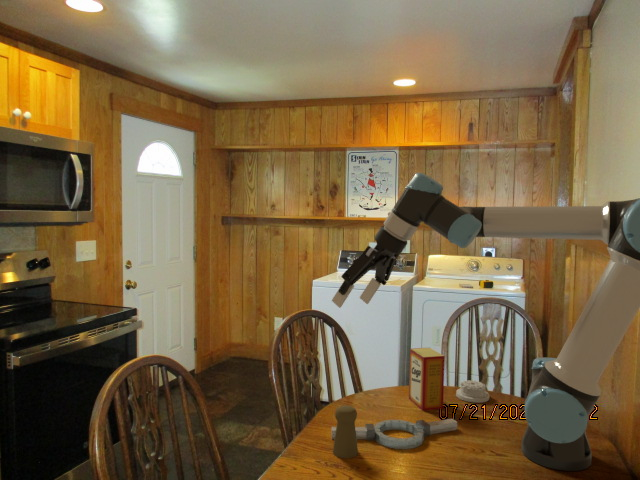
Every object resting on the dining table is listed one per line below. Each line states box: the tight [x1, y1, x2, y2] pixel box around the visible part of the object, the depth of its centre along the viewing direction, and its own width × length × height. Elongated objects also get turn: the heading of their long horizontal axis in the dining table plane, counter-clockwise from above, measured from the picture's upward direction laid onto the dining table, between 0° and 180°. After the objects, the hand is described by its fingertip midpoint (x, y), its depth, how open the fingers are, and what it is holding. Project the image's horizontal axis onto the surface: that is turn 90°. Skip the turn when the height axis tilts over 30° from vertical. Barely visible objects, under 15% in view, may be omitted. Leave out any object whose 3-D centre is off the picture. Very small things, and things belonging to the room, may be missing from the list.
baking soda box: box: [408, 347, 446, 412], centre depth 153 cm, size 10×6×16 cm
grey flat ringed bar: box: [331, 418, 458, 450], centre depth 131 cm, size 33×13×3 cm, turn 91°
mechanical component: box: [455, 379, 490, 404], centre depth 160 cm, size 10×4×10 cm
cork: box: [332, 404, 359, 459], centre depth 122 cm, size 6×6×11 cm
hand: (350, 302), depth 130 cm, fingers open, 13 cm apart
